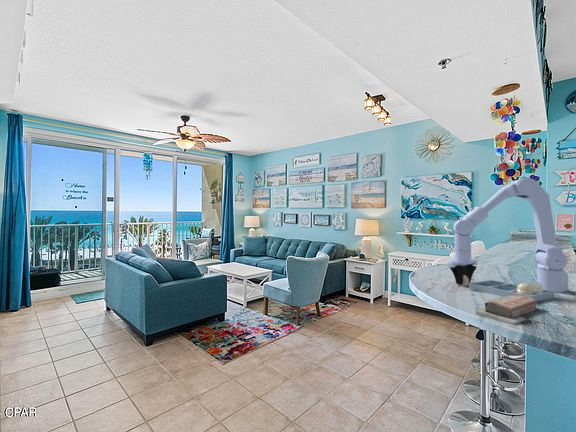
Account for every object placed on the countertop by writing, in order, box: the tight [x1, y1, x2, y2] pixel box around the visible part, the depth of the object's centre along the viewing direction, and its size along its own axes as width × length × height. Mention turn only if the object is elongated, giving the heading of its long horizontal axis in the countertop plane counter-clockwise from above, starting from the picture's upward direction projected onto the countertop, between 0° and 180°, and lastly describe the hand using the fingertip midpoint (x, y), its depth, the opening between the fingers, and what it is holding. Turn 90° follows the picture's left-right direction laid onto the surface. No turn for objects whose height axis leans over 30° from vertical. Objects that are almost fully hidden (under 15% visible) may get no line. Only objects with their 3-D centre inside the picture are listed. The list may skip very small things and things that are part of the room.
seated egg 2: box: [527, 281, 543, 293], centre depth 97 cm, size 4×4×5 cm
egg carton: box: [468, 279, 555, 302], centre depth 102 cm, size 14×20×3 cm
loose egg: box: [457, 275, 469, 288], centre depth 114 cm, size 4×4×5 cm
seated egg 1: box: [517, 282, 532, 296], centre depth 95 cm, size 4×4×5 cm
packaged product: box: [474, 294, 538, 326], centre depth 83 cm, size 18×5×10 cm
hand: (463, 283), depth 114 cm, fingers closed on loose egg, 4 cm apart
